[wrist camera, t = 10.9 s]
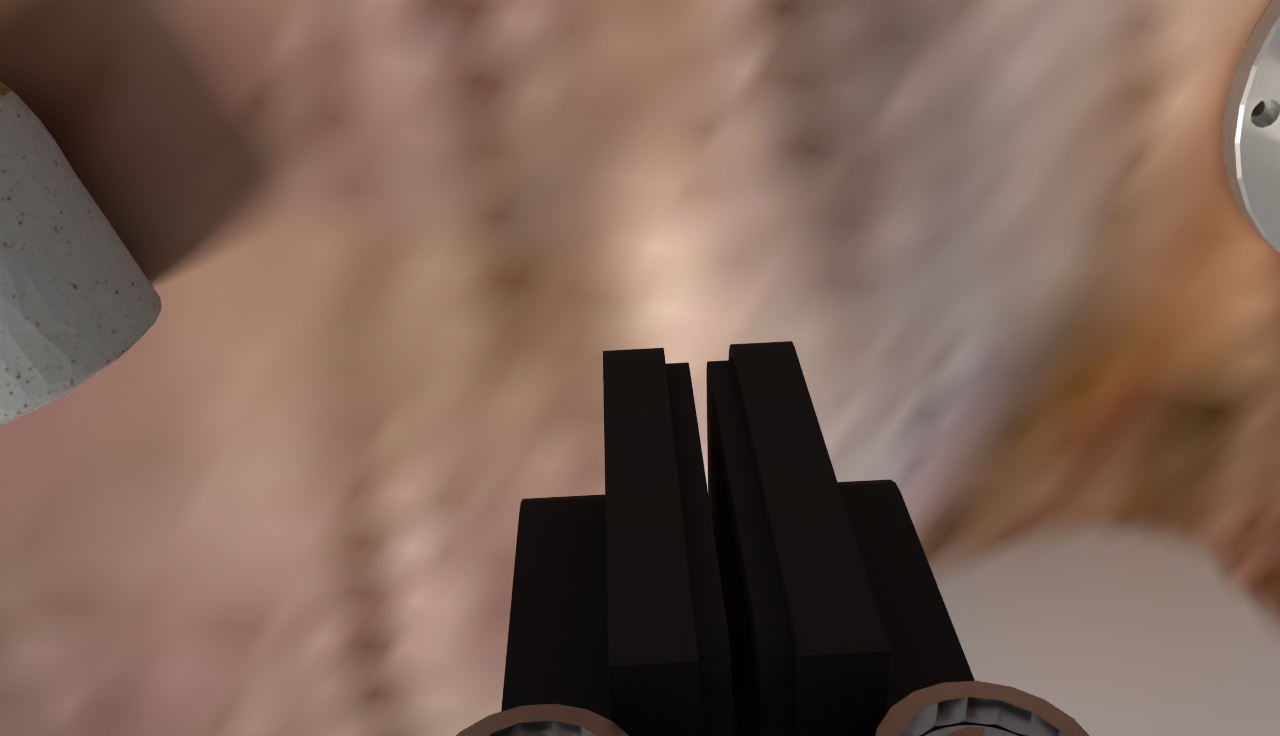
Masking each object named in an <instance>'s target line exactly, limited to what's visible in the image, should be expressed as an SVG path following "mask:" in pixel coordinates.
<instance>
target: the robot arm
mask: <svg viewBox="0 0 1280 736" xmlns="http://www.w3.org/2000/svg"><path fill="white" fill-rule="evenodd" d="M1256 105H1257V106H1256ZM1255 106H1256V108H1255V109H1254V107H1255ZM1253 109H1254V110H1253ZM1223 158H1224V163H1225V168H1226V174H1227V179H1228V185H1229V187H1230V190H1231V192H1232V194H1233V196H1234V199H1235V201H1236V203H1237V205H1238V208H1239V210H1240V212H1241V214H1242V215H1243V217H1244V218H1245V219H1246V221H1247V222H1248V223H1249V224H1250V226H1251V227H1252V228H1253V229H1254V231H1255V232H1256V233H1257V234H1258V236H1259V237H1260V238H1261V239H1262V240H1264V241H1265V242H1266V243H1267V244H1269V245H1270V246H1271V247H1272V248H1274V249H1275V250H1276V251H1277V252H1278V253H1280V0H1272V1H1271V2H1270V4H1269V6H1268V7H1267V9H1266V11H1265V12H1264V14H1263V15H1262V17H1261V19H1260V20H1259V22H1258V24H1257V25H1256V27H1255V29H1254V30H1253V32H1252V34H1251V35H1250V37H1249V39H1248V41H1247V43H1246V46H1245V48H1244V51H1243V53H1242V55H1241V58H1240V60H1239V63H1238V65H1237V68H1236V70H1235V72H1234V75H1233V77H1232V81H1231V86H1230V90H1229V95H1228V99H1227V104H1226V108H1225V113H1224V121H1223ZM603 381H604V440H605V495H588V496H569V497H550V498H531V499H523V500H522V501H521V505H520V512H519V523H518V534H517V545H516V556H515V567H514V578H513V589H512V600H511V611H510V622H509V633H508V644H507V655H506V666H505V677H504V688H503V699H502V711H501V712H499V713H495V714H492V715H489V716H487V717H485V718H484V719H482V720H480V721H478V722H477V723H475V724H473V725H471V726H469V727H468V728H466V729H464V730H462V731H461V732H459V733H458V734H457V735H456V736H1089V735H1088V734H1087V732H1085V730H1084V729H1083V728H1082V727H1081V726H1080V725H1079V724H1078V723H1077V722H1076V721H1075V719H1073V718H1072V717H1070V716H1069V715H1067V714H1066V713H1064V712H1063V711H1061V710H1060V709H1058V708H1056V707H1055V706H1053V705H1052V704H1050V703H1049V702H1047V701H1046V700H1044V699H1041V698H1039V697H1036V696H1034V695H1031V694H1029V693H1026V692H1024V691H1021V690H1018V689H1016V688H1013V687H1009V686H1003V685H998V684H991V683H986V682H980V681H975V680H974V678H973V675H972V673H971V670H970V667H969V665H968V662H967V660H966V658H965V655H964V652H963V650H962V647H961V645H960V642H959V640H958V637H957V635H956V632H955V629H954V627H953V624H952V622H951V619H950V617H949V614H948V612H947V609H946V607H945V604H944V601H943V599H942V596H941V594H940V591H939V589H938V586H937V584H936V581H935V578H934V576H933V573H932V571H931V568H930V566H929V563H928V561H927V558H926V556H925V553H924V551H923V548H922V545H921V543H920V540H919V538H918V535H917V533H916V530H915V528H914V525H913V523H912V520H911V518H910V515H909V512H908V510H907V507H906V505H905V502H904V500H903V497H902V495H901V492H900V490H899V489H898V487H897V485H896V483H895V482H893V481H892V480H873V481H854V482H837V480H836V476H835V473H834V470H833V467H832V464H831V461H830V457H829V454H828V451H827V448H826V445H825V442H824V439H823V435H822V432H821V429H820V426H819V423H818V420H817V416H816V413H815V410H814V407H813V404H812V401H811V397H810V394H809V391H808V388H807V385H806V382H805V379H804V375H803V372H802V369H801V366H800V363H799V360H798V356H797V353H796V350H795V347H794V345H793V343H792V342H790V341H789V342H770V343H750V344H731V345H730V348H729V361H710V362H707V441H708V490H707V483H706V477H705V470H704V463H703V456H702V450H701V443H700V436H699V429H698V422H697V416H696V409H695V402H694V395H693V389H692V382H691V375H690V368H689V363H671V364H665V355H664V348H652V349H633V350H613V351H603Z"/></svg>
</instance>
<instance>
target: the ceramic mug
mask: <svg viewBox="0 0 1280 736" xmlns="http://www.w3.org/2000/svg"><path fill="white" fill-rule="evenodd" d="M160 311H161V301H160V297H159V295H158V294H157V292H156V291H155V289H154V288H153V286H152V285H151V283H150V282H149V281H148V279H147V278H146V276H145V275H144V273H143V272H142V270H141V269H140V267H139V266H138V264H137V263H136V262H135V260H134V259H133V257H132V256H131V254H130V253H129V251H128V250H127V248H126V247H125V245H124V244H123V242H122V241H121V240H120V238H119V237H118V235H117V233H116V232H115V230H114V229H113V227H112V226H111V224H110V223H109V221H108V220H107V218H106V217H105V215H104V214H103V213H102V211H101V210H100V208H99V207H98V205H97V204H96V203H95V201H94V200H93V198H92V197H91V195H90V194H89V193H88V191H87V190H86V188H85V187H84V185H83V184H82V182H81V181H80V180H79V178H78V177H77V175H76V174H75V172H74V171H73V169H72V167H71V166H70V164H69V163H68V161H67V159H66V158H65V156H64V154H63V153H62V151H61V149H60V148H59V146H58V145H57V143H56V141H55V140H54V139H53V137H52V136H51V135H50V133H49V132H48V130H47V129H46V128H45V126H44V125H43V123H42V122H41V121H40V120H39V118H38V117H37V116H36V115H35V114H34V113H33V112H32V111H31V110H30V109H29V108H28V107H27V105H26V104H25V103H24V102H23V101H22V100H21V98H20V97H19V96H18V95H17V94H15V93H14V92H13V91H12V90H11V89H10V88H9V87H8V86H7V85H5V84H4V83H2V82H0V426H1V425H3V424H5V423H7V422H9V421H11V420H13V419H16V418H18V417H20V416H22V415H25V414H27V413H29V412H32V411H34V410H36V409H38V408H40V407H42V406H44V405H46V404H48V403H50V402H52V401H54V400H56V399H58V398H60V397H62V396H63V395H65V394H67V393H68V392H70V391H72V390H73V389H75V388H77V387H78V386H80V385H81V384H83V383H84V382H85V381H87V380H88V379H89V378H90V377H92V376H93V375H94V374H95V373H97V372H99V371H100V370H102V369H104V368H105V367H107V366H109V365H110V364H111V363H113V362H114V361H116V360H117V359H118V358H120V357H121V356H122V355H123V354H124V353H125V352H126V351H127V350H128V349H129V348H130V347H132V346H133V345H134V344H135V343H136V342H137V341H139V340H140V339H141V337H142V336H143V335H144V334H145V333H146V332H147V330H148V329H149V328H150V327H151V326H152V325H153V324H154V323H155V321H156V320H157V318H158V316H159V314H160Z"/></svg>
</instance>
